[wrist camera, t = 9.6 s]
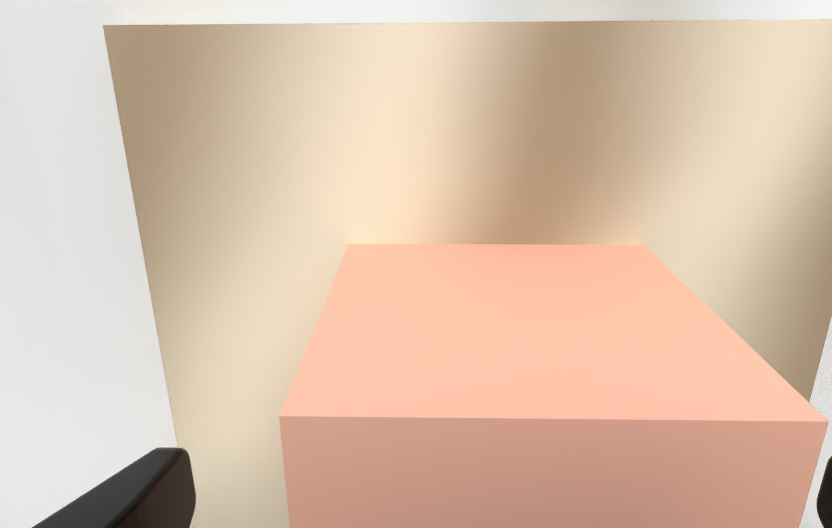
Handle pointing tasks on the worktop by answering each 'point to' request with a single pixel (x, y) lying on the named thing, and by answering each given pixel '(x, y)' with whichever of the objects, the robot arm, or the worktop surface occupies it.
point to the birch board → (456, 186)
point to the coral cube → (536, 398)
